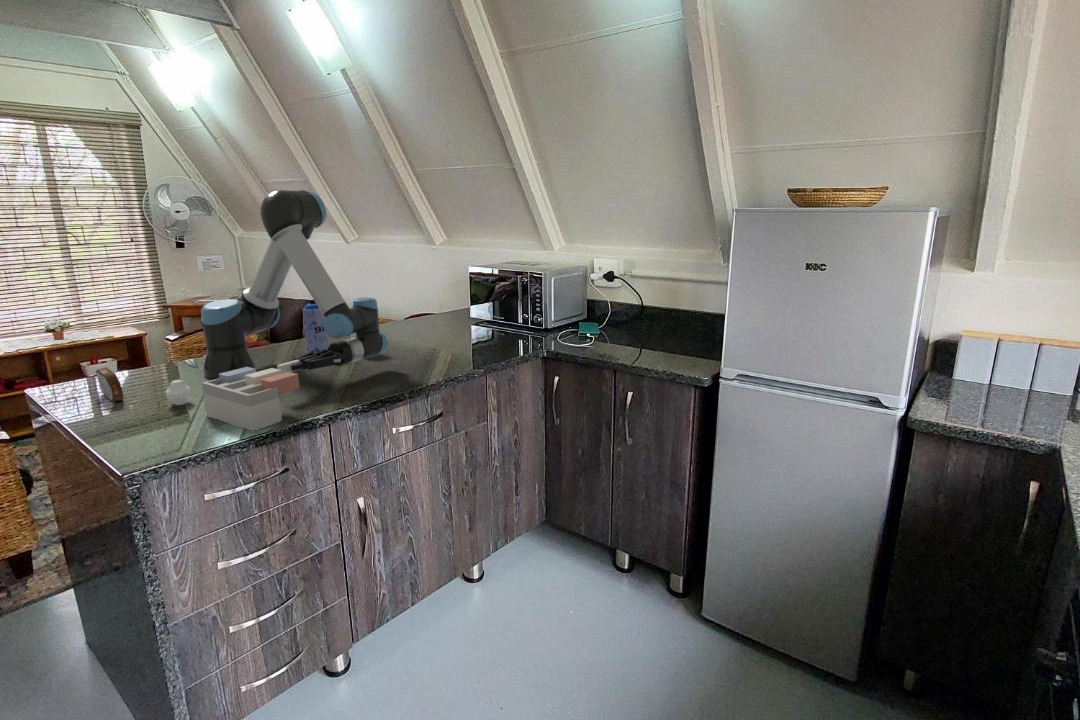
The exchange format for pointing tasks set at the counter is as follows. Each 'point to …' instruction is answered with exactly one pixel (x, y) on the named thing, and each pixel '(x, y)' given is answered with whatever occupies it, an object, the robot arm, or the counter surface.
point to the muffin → (178, 392)
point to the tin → (109, 384)
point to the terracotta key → (281, 382)
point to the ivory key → (261, 376)
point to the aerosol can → (314, 327)
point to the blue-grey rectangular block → (235, 374)
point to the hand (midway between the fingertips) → (279, 370)
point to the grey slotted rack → (242, 403)
